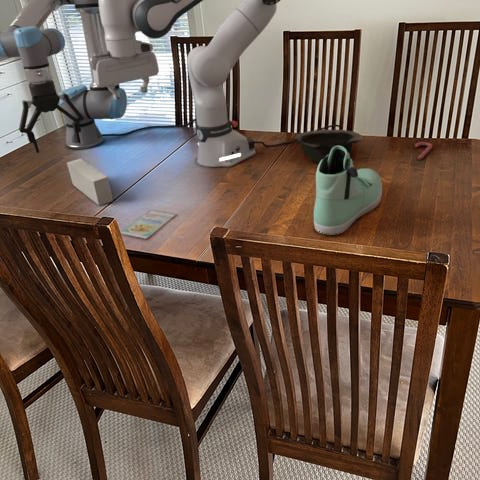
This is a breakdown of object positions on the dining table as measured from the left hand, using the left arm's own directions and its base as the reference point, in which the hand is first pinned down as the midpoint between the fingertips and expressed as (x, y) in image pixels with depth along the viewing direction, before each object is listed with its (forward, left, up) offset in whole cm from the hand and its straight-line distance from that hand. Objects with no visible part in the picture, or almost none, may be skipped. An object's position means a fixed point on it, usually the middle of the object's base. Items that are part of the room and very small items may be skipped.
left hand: (58, 146), depth 159 cm
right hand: (-21, +19, +15) cm, 32 cm away
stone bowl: (-80, +46, -14) cm, 93 cm away
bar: (-4, +11, -14) cm, 18 cm away
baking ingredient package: (-7, +45, -14) cm, 48 cm away
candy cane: (-104, +69, -14) cm, 126 cm away
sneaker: (-54, +79, -14) cm, 97 cm away
